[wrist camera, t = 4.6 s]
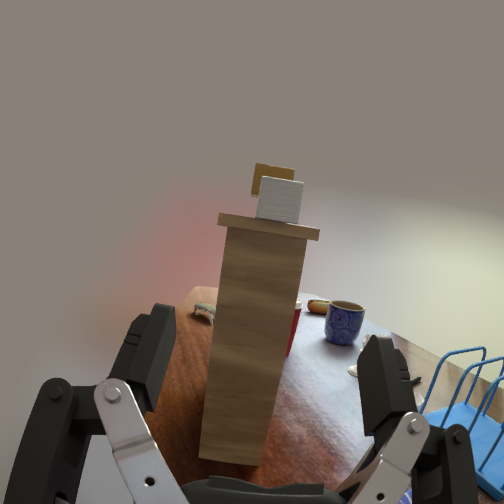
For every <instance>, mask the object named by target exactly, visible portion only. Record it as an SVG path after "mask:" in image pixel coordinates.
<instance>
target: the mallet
mask: <svg viewBox="0 0 504 504" xmlns="http://www.w3.org/2000/svg"><path fill="white" fill-rule="evenodd" d="M294 172H295V170H294V169H289V168H283V167H277V166H271V165H265V164H259V163H256V165H255V171H254V177H253V184H252V190H251V196H252V197H257V198H258V203H257V209H256V216H255V218H257V219H263V220H269V221H276V222H282V223H290V224H298V218H299V212H300V205H301V198H302V192H303V186H304V183H301V182H296V181H293V178H294Z"/></svg>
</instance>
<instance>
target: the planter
mask: <svg viewBox="0 0 504 504" xmlns="http://www.w3.org/2000/svg"><path fill="white" fill-rule="evenodd" d="M364 314H365V308H364V307H363V306H360V305H358V304H355V303H351V302H346V301H337V300H335V301H330V303H329V306H328V311H327V316H326V321H325V328H324V332H325V335H326V338H327V339H328V340H329V341H331V342H333V343H335V344H339V345H349V344H351V343H353V342H354V341H355V340H356V339H357V337H358V335H359V332H360V329H361V326H362V322H363V318H364Z"/></svg>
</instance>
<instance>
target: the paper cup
mask: <svg viewBox="0 0 504 504" xmlns="http://www.w3.org/2000/svg"><path fill="white" fill-rule="evenodd" d="M302 308H303V305H302V301H301V300H300V299H298V298H297V301H296V306H295V311H294V316H293V321H292V326H291V331H290V336H289V341H288V346H287V351H286V356H285V357H287V356H288V355H289V353H290V349H291V346H292V342H293V339H294V336H295V332H296V328H297V324H298V320H299V316H300V312H301V309H302Z"/></svg>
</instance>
